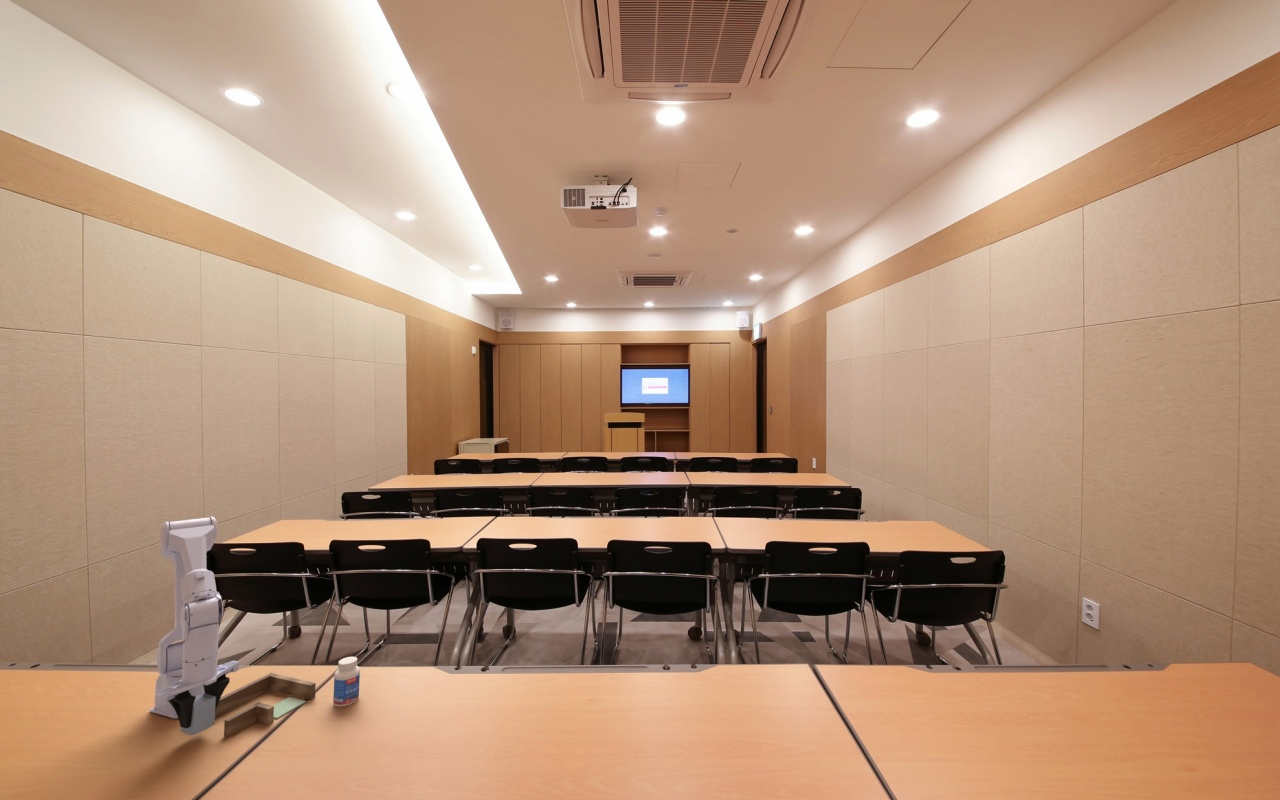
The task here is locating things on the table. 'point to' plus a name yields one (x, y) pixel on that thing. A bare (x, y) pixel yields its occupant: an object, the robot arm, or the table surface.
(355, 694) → the pill bottle
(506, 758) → the table surface
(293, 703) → the pad
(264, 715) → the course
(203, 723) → the block
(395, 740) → the table surface
